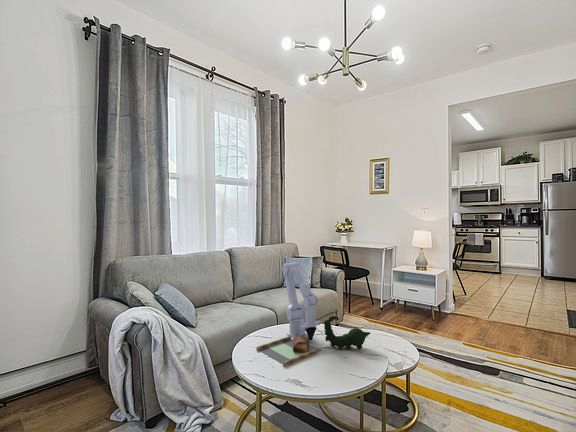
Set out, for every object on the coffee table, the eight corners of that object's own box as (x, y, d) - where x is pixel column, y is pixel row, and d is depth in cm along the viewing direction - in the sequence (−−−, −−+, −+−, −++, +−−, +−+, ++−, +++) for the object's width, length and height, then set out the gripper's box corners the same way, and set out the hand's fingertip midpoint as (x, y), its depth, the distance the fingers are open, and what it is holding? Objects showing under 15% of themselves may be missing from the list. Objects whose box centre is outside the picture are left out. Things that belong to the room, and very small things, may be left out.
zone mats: (295, 338, 193) (295, 338, 193) (321, 350, 176) (321, 350, 176) (259, 350, 176) (259, 350, 176) (284, 365, 159) (284, 365, 159)
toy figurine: (326, 354, 175) (373, 351, 173) (323, 319, 175) (370, 316, 173) (326, 346, 185) (370, 344, 182) (323, 313, 185) (367, 311, 182)
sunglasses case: (308, 352, 172) (302, 341, 172) (297, 358, 172) (291, 348, 173) (309, 339, 190) (303, 329, 190) (298, 345, 190) (292, 335, 191)
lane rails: (289, 339, 192) (289, 335, 192) (318, 352, 173) (318, 348, 173) (256, 350, 176) (256, 346, 176) (284, 366, 158) (284, 362, 158)
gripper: (306, 320, 178) (306, 345, 178) (324, 315, 187) (324, 338, 188) (297, 317, 183) (297, 341, 184) (315, 312, 193) (315, 334, 193)
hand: (310, 339), depth 186 cm, fingers closed
